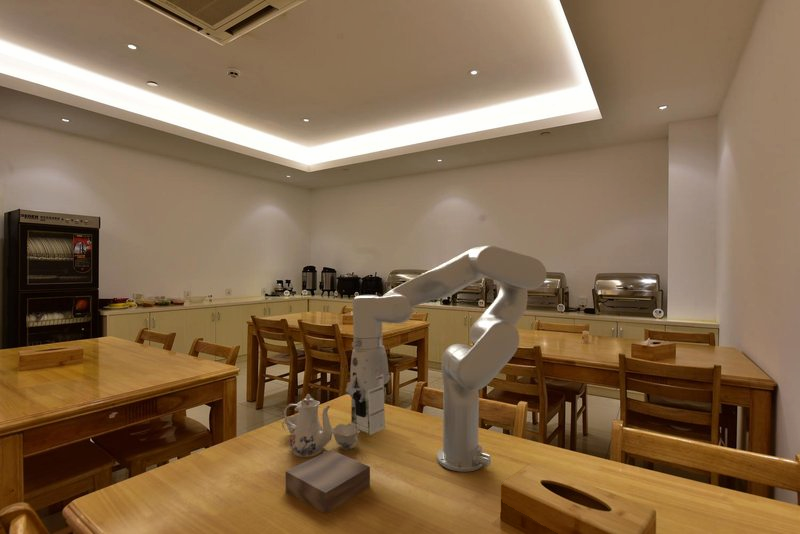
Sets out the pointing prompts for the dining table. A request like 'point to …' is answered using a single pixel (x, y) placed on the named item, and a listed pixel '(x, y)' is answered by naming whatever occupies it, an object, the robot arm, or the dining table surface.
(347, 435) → the chinaware
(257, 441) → the dining table surface
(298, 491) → the walnut block
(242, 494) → the dining table surface
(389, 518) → the dining table surface
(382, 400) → the syrup box
